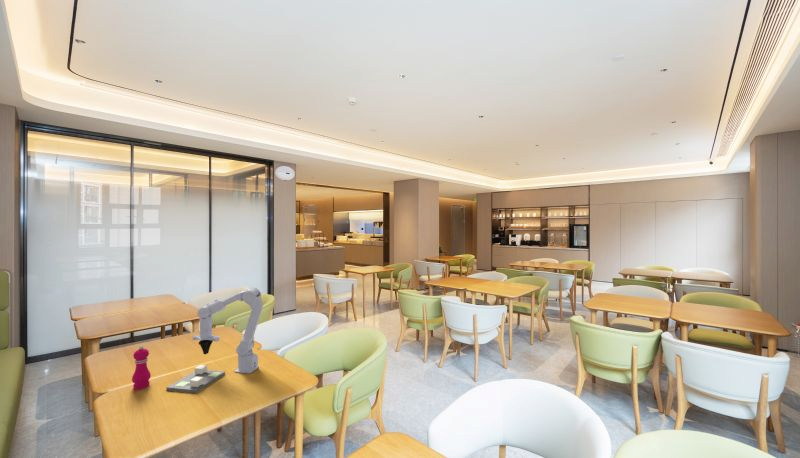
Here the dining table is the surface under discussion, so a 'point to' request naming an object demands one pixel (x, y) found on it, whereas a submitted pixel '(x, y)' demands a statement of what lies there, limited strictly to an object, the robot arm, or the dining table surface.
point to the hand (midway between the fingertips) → (206, 353)
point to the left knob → (196, 381)
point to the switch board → (184, 383)
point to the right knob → (201, 369)
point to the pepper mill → (141, 369)
